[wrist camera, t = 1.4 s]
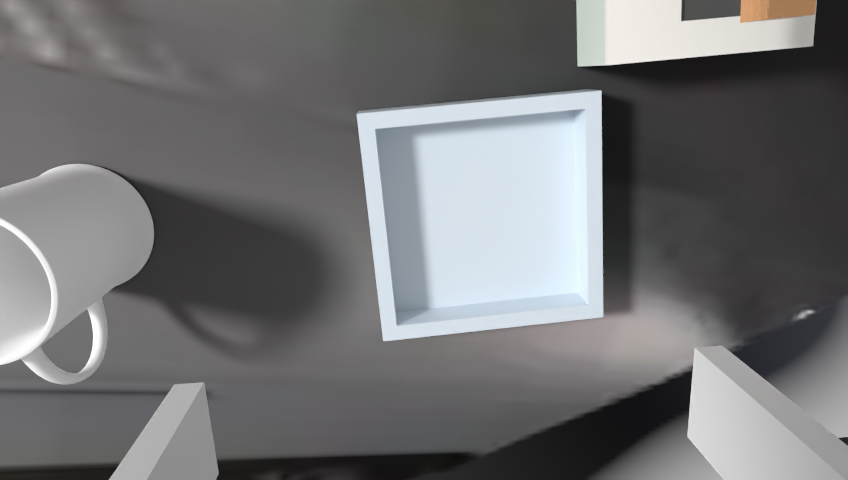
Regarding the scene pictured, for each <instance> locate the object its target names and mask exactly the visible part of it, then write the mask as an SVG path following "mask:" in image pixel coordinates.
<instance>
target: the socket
mask: <svg viewBox="0 0 848 480" xmlns="http://www.w3.org/2000/svg"><path fill="white" fill-rule="evenodd" d="M576 3H577V58H578V66H603V65H616V64H627V63H638V62H649V61H659V60H670V59H681V58H691V57H702V56H713V55H724V54H734V53H745V52H756V51H766V50H777V49H788V48H799V47H809V46H813V40H814V28H815V16H816V9H815V15H808V16H801V17H794V18H787V19H777V20H766V21H755V22H744V23H740V14H741V0H576ZM816 5H817V0H816Z"/></svg>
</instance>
